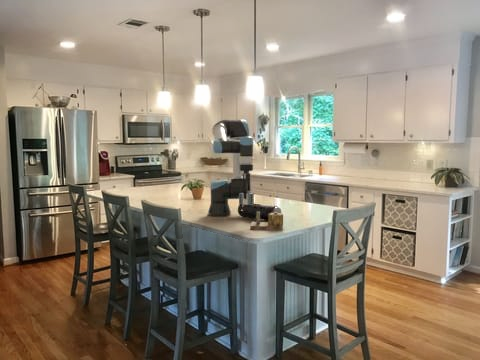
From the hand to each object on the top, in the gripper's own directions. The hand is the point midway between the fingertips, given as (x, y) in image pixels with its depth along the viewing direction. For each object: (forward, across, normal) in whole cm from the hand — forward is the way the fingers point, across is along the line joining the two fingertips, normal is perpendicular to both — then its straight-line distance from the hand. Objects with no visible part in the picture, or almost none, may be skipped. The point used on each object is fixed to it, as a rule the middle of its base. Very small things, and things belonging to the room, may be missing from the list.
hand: (246, 203), depth 226 cm
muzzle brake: (+14, +21, -5) cm, 26 cm away
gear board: (+14, 0, -12) cm, 18 cm away
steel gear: (0, 0, 0) cm, 0 cm away
